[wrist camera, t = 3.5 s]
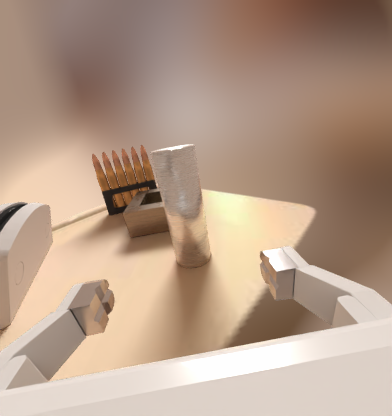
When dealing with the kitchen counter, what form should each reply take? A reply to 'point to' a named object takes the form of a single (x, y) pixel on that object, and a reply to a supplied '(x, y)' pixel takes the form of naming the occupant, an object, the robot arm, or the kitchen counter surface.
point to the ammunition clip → (123, 179)
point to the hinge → (21, 252)
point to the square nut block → (146, 214)
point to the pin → (183, 203)
